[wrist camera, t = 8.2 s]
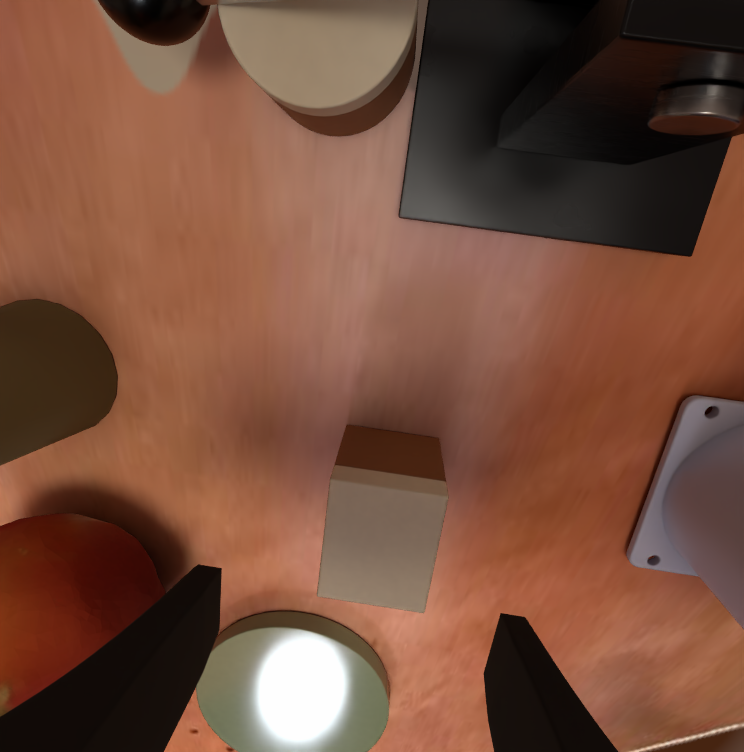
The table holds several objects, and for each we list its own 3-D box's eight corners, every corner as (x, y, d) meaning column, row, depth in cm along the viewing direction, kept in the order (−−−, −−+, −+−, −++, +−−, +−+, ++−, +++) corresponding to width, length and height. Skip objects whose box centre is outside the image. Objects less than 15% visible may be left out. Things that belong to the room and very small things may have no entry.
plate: (402, 627, 23) (402, 645, 22) (376, 764, 26) (375, 784, 25) (205, 596, 23) (196, 612, 22) (202, 735, 26) (195, 754, 25)
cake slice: (439, 437, 19) (449, 496, 15) (420, 535, 21) (424, 614, 17) (346, 423, 20) (329, 478, 15) (334, 522, 21) (316, 596, 17)
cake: (427, -36, 14) (435, -129, 11) (403, 145, 16) (402, 119, 12) (265, -55, 15) (216, -154, 11) (257, 126, 16) (212, 95, 12)
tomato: (-7, 483, 22) (-228, 619, 14) (180, 483, 21) (53, 626, 13) (43, 635, 25) (-119, 817, 17) (210, 640, 24) (119, 832, 16)
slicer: (398, 217, 17) (389, 204, 7) (447, -133, 14) (551, -1023, 4) (672, 255, 17) (1055, 293, 7) (785, -94, 13) (1790, -944, 4)
